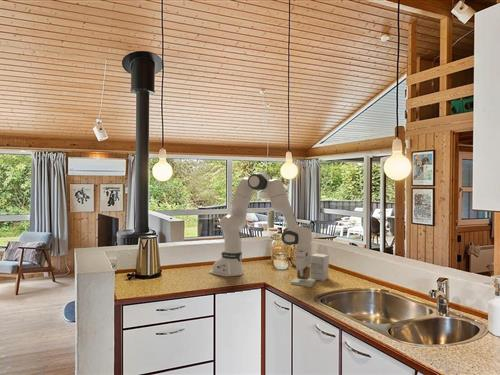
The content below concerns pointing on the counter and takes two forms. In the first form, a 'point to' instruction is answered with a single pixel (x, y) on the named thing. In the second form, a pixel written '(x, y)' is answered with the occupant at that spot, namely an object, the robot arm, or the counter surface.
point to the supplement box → (319, 267)
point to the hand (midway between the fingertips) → (303, 274)
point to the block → (305, 275)
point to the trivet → (303, 282)
